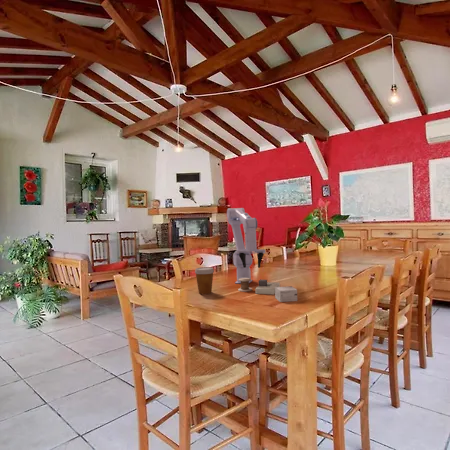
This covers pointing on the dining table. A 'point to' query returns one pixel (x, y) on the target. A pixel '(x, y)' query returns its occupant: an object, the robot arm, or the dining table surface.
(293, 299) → the small box
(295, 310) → the dining table surface
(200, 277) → the disposable coffee cup
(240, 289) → the bobbin post
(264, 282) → the block
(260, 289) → the notch board
